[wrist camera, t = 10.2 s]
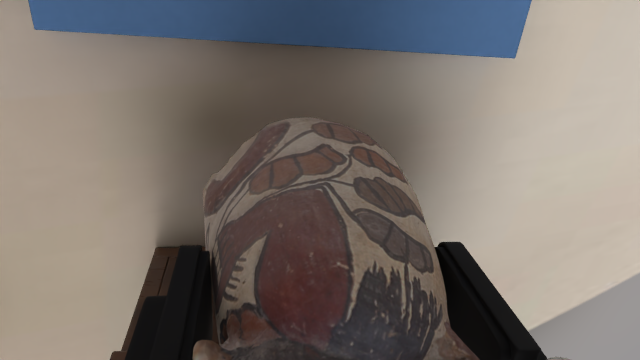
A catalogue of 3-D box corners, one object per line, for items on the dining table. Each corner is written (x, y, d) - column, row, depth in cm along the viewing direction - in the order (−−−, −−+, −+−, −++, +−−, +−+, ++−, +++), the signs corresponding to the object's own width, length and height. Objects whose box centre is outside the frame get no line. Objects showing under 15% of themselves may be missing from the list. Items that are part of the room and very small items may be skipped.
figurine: (191, 117, 13) (-104, 815, 2) (412, 110, 14) (940, 585, 3) (214, 294, 16) (136, 926, 5) (392, 279, 17) (620, 795, 6)
